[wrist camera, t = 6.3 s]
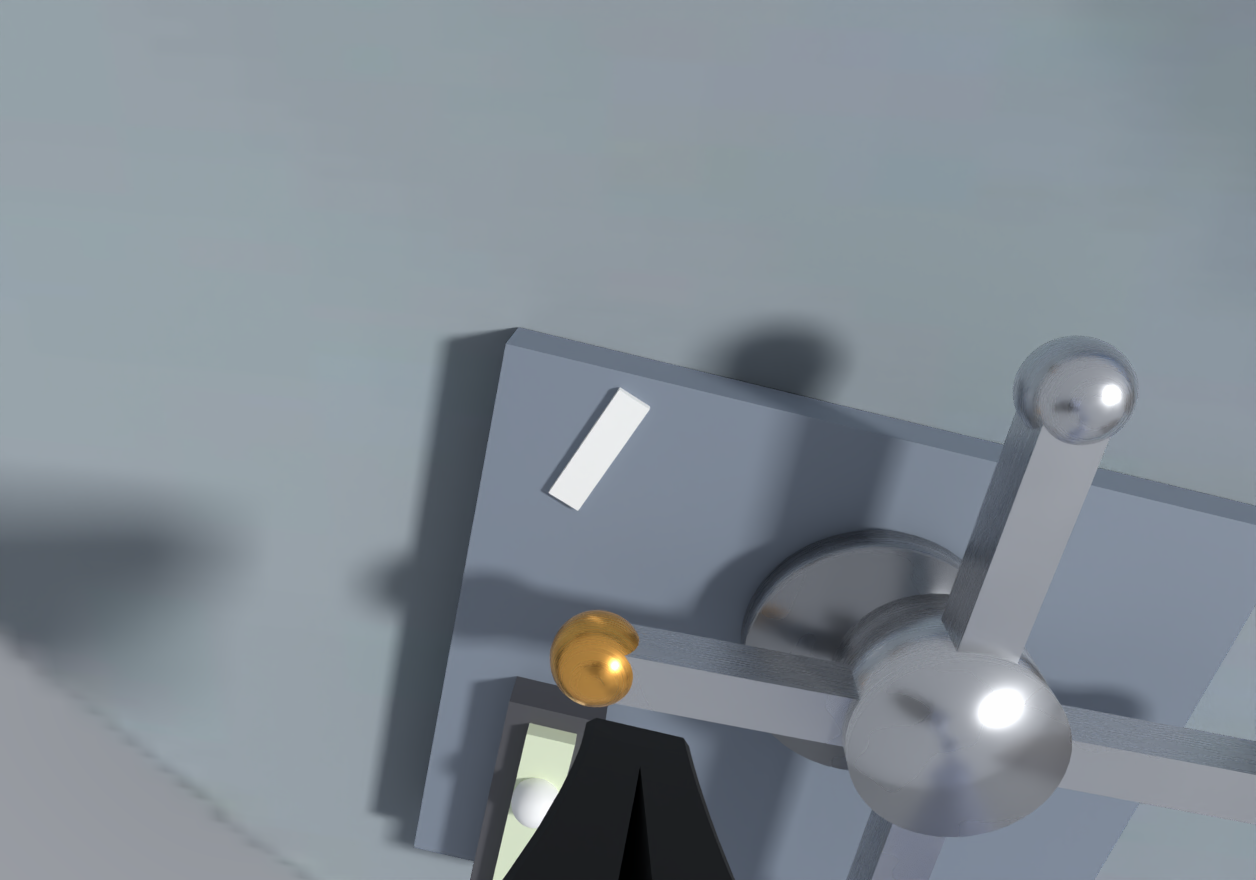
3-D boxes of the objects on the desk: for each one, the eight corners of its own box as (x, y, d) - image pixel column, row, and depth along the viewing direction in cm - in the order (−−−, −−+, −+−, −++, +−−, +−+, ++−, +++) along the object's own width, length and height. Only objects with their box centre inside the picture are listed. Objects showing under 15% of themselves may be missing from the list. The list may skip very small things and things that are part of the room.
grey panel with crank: (1005, 953, 26) (1053, 1081, 23) (426, 819, 26) (385, 928, 22) (1255, 505, 21) (1369, 585, 17) (518, 327, 20) (483, 372, 17)
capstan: (1450, 383, 18) (1628, 449, 14) (1129, 963, 24) (1200, 1104, 20) (628, 229, 18) (613, 258, 14) (521, 849, 24) (493, 970, 20)
